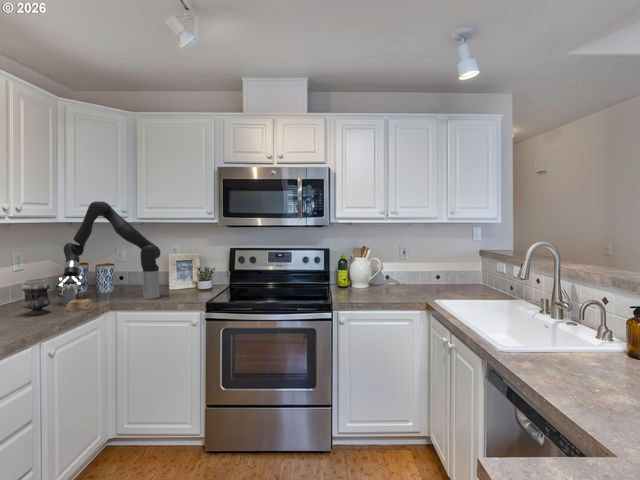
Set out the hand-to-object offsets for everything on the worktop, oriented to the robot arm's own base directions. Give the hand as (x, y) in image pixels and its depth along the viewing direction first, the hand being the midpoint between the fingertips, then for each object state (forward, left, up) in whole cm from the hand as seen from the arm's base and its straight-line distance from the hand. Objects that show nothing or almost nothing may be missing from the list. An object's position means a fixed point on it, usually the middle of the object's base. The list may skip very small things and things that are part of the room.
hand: (69, 291), depth 212 cm
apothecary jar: (+11, +18, -8) cm, 22 cm away
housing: (0, +2, -8) cm, 8 cm away
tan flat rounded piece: (-7, +13, -7) cm, 16 cm away
